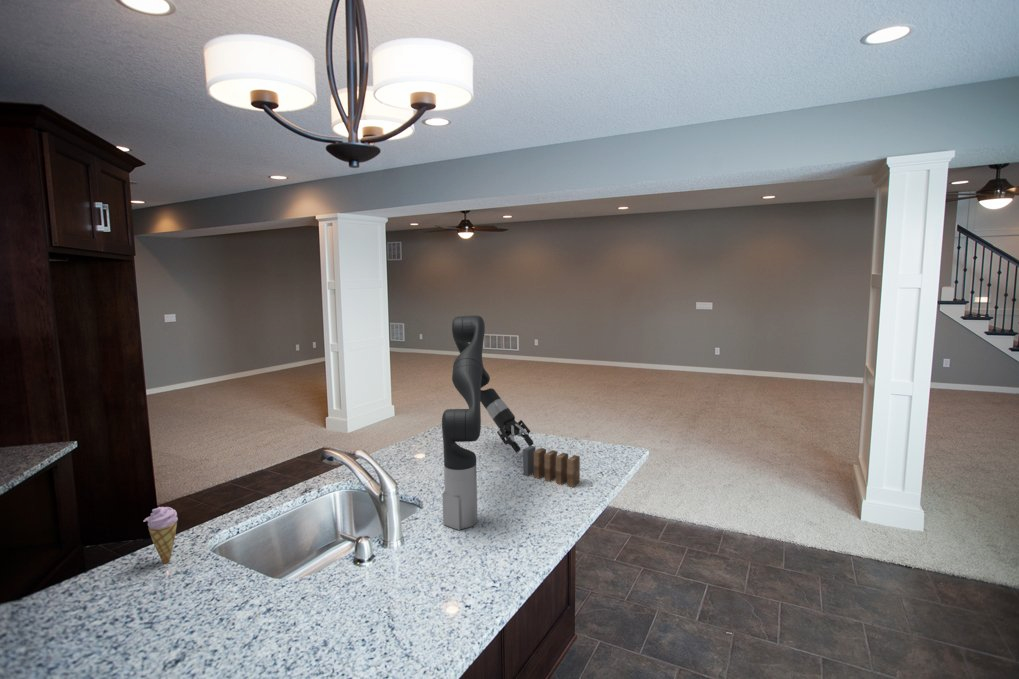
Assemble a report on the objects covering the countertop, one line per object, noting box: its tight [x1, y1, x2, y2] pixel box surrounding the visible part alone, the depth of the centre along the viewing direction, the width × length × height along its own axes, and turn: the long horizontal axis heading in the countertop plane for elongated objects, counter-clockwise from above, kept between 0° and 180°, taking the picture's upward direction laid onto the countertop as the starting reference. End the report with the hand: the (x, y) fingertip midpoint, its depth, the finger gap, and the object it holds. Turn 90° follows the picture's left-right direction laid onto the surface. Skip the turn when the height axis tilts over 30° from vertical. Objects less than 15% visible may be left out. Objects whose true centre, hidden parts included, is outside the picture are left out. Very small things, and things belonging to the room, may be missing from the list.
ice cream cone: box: [143, 506, 179, 564], centre depth 128 cm, size 7×6×15 cm
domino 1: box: [522, 445, 536, 477], centre depth 184 cm, size 5×2×10 cm, turn 144°
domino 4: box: [555, 452, 569, 485], centre depth 176 cm, size 5×2×10 cm, turn 144°
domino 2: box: [533, 447, 547, 480], centre depth 181 cm, size 5×2×10 cm, turn 144°
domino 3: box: [544, 449, 558, 483], centre depth 179 cm, size 5×2×10 cm, turn 144°
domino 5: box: [566, 454, 581, 489], centre depth 174 cm, size 5×2×10 cm, turn 144°
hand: (525, 448), depth 190 cm, fingers open, 8 cm apart
